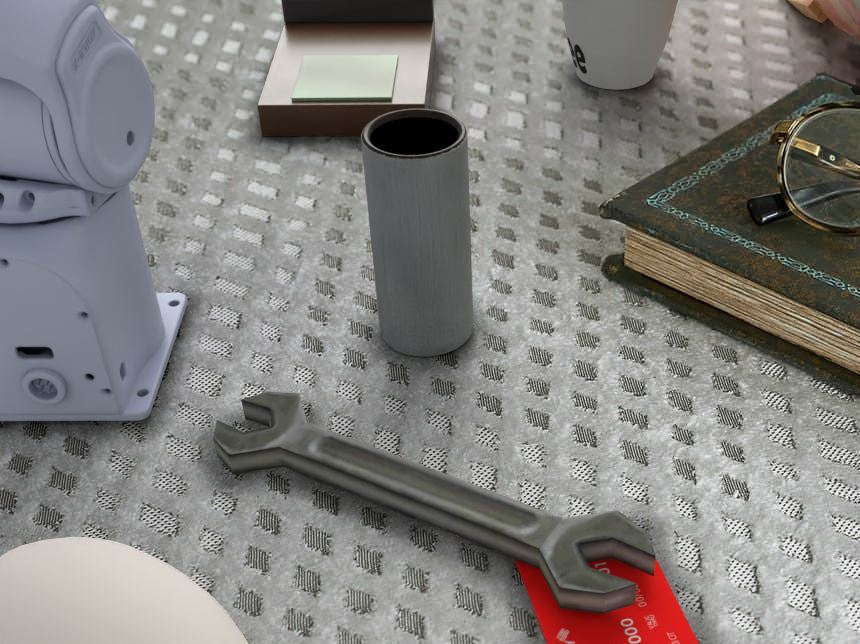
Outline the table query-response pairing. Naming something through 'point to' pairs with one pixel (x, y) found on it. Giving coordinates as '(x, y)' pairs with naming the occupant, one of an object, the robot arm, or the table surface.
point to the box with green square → (347, 65)
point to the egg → (103, 597)
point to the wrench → (445, 503)
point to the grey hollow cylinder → (420, 229)
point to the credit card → (617, 630)
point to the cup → (617, 39)
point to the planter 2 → (833, 13)
